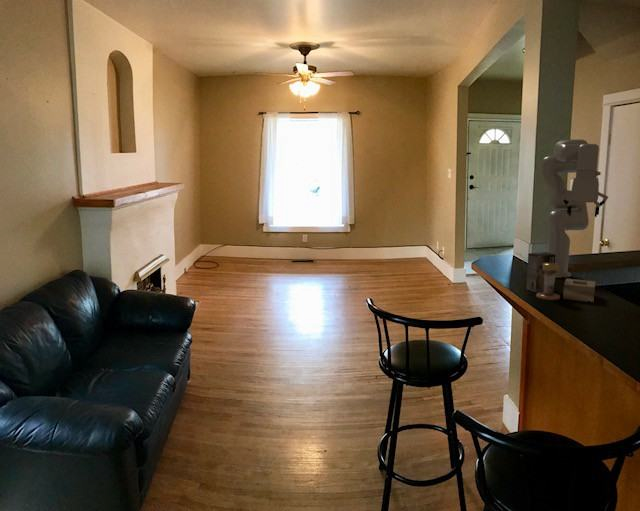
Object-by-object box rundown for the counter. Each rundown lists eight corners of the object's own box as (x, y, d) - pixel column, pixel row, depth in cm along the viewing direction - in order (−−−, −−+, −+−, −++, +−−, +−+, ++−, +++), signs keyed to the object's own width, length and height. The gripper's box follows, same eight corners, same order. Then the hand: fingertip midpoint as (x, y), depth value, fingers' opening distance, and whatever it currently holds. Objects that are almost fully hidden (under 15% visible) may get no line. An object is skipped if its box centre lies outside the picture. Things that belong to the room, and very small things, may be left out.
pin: (541, 292, 214) (543, 262, 212) (556, 294, 211) (559, 263, 209) (539, 295, 209) (541, 264, 206) (555, 297, 206) (558, 266, 204)
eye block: (564, 292, 217) (566, 278, 216) (594, 295, 212) (595, 281, 211) (562, 298, 208) (564, 284, 207) (593, 302, 203) (594, 287, 202)
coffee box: (543, 287, 226) (546, 251, 223) (553, 290, 220) (556, 254, 217) (525, 288, 224) (528, 253, 220) (535, 292, 218) (538, 255, 214)
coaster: (537, 293, 216) (537, 291, 216) (561, 296, 212) (561, 293, 212) (535, 298, 208) (535, 296, 208) (559, 301, 204) (559, 299, 204)
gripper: (610, 174, 209) (606, 216, 212) (563, 174, 217) (560, 214, 220) (610, 175, 202) (606, 218, 206) (562, 174, 211) (559, 216, 214)
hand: (582, 216), depth 213 cm, fingers open, 9 cm apart
